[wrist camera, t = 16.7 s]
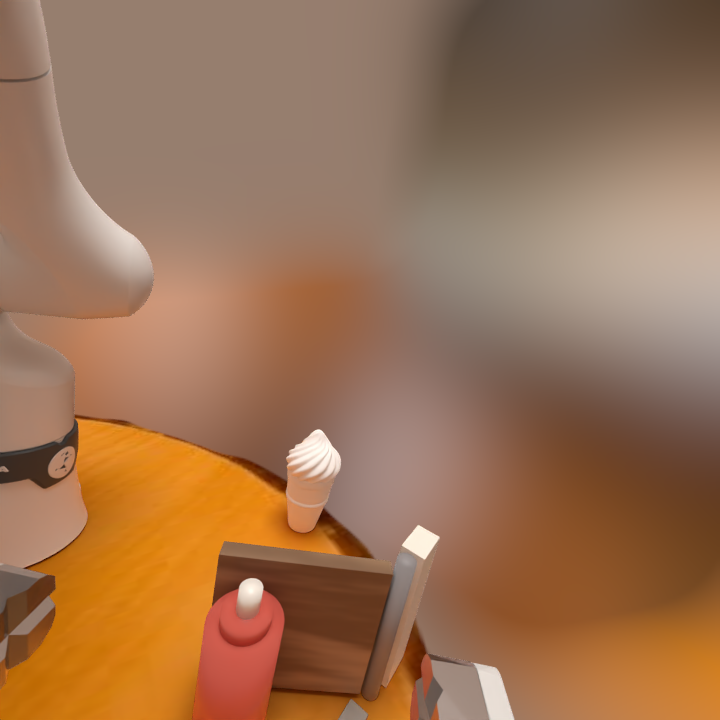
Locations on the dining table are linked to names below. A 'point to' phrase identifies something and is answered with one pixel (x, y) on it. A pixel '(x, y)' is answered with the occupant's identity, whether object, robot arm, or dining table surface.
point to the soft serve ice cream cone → (310, 480)
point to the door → (314, 610)
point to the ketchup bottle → (239, 655)
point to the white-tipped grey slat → (396, 616)
